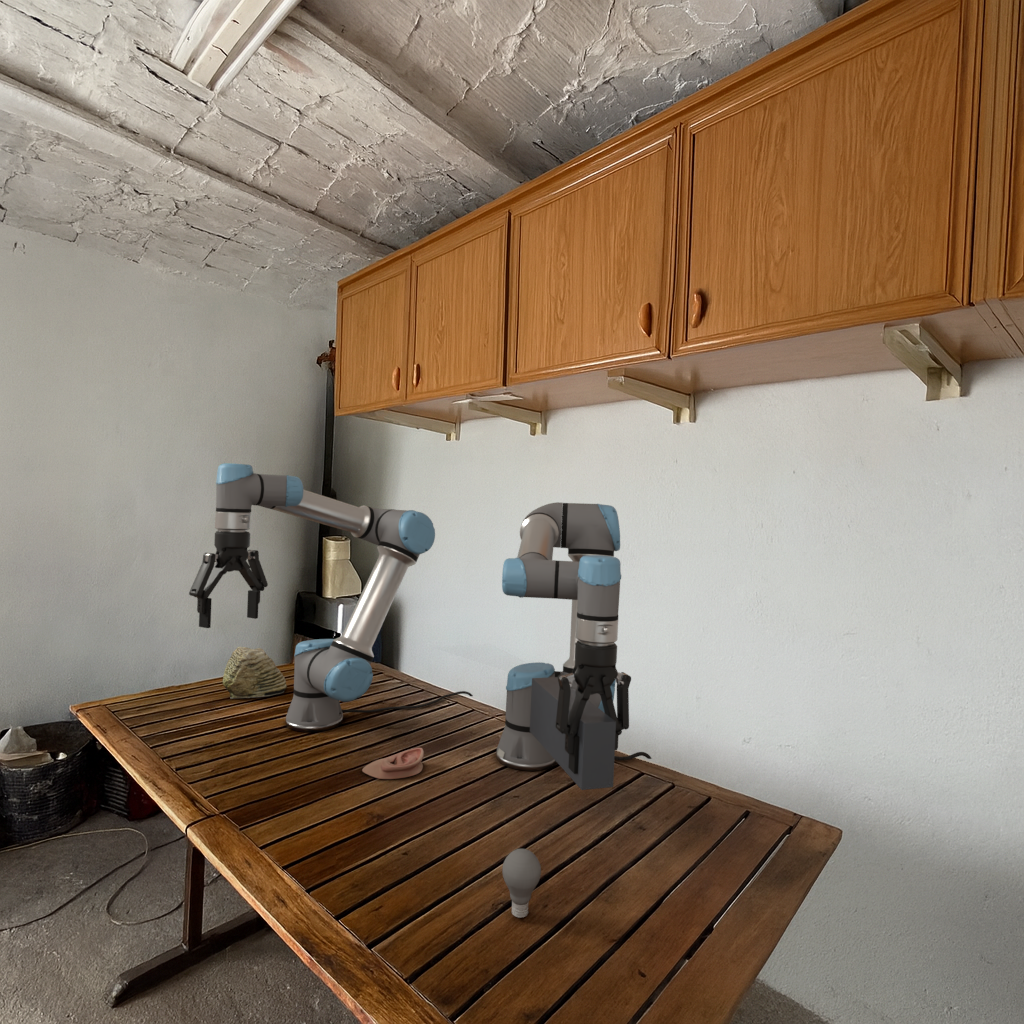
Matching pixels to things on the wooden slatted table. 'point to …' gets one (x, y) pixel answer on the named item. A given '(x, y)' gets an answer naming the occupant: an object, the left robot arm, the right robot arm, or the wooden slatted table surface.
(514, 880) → the light bulb
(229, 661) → the fossil
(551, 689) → the box
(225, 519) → the left robot arm
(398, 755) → the anatomical model
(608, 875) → the wooden slatted table surface
